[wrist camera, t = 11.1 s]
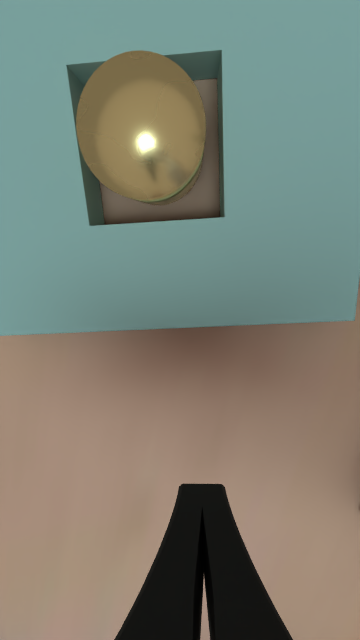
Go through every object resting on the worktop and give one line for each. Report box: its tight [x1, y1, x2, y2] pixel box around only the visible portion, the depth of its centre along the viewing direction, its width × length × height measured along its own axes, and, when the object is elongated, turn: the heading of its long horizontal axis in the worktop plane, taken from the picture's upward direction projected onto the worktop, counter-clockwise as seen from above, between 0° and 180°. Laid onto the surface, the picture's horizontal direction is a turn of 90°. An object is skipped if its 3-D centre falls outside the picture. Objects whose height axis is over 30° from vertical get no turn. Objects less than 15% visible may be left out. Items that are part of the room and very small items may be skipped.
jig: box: [0, 0, 360, 336], centre depth 14 cm, size 18×16×2 cm
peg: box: [76, 50, 206, 205], centre depth 13 cm, size 4×4×5 cm
